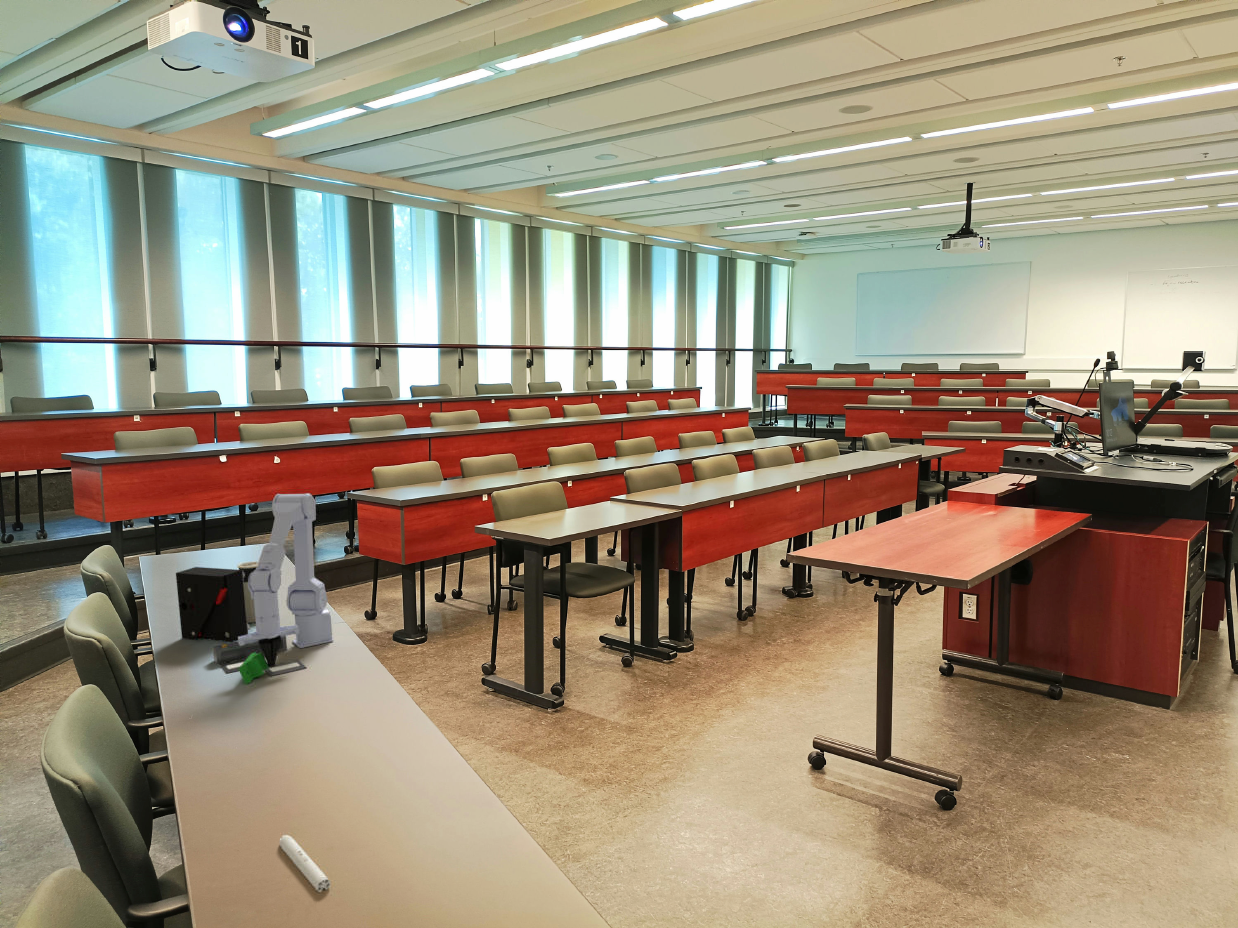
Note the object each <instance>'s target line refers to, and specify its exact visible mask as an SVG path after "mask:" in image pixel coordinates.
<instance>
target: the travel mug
mask: <svg viewBox="0 0 1238 928" xmlns="http://www.w3.org/2000/svg"><path fill="white" fill-rule="evenodd" d="M258 562H259V561H248V562H247V561H246V562H242V563H239V564H238V565H237V567H236V568H238V570H243V572H244V574H245V576H244V582H243V587H244V599H245V611H246V622H247V623H248V624H253V623H254V624H256V618H255V607H254V599H252V598H251V592H250V591H249V589H248V579H249V575H250V574H251V573H252V572H254V571H255V570H256V568H257V565H258Z"/></svg>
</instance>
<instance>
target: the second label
mask: <svg viewBox="0 0 1238 928" xmlns="http://www.w3.org/2000/svg"><path fill="white" fill-rule="evenodd" d="M304 669H305V670H306V669H307V666H306V665H305V664H304V663H303V662H301V661H300V660H299V659H293V660H289V661H285V662H281V663H277V664H276V663H275V666H274V667H269V668H268V669H265V670H264V671H265V672H266V673H267V674H268V676H270V677H275V676H279V675H283V674H287V673H293V672H296V671H300V670H304Z"/></svg>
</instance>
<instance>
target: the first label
mask: <svg viewBox="0 0 1238 928" xmlns="http://www.w3.org/2000/svg"><path fill="white" fill-rule="evenodd" d="M245 660H246V659H243V660H238V661H233V662H229V663H224V664H219V666H220V667H221V668H222V669H224V670H223V671H224V673H225V674H232V673H235V672H240V671H239V669H238V668H239V667H240V666H241V665H242V664H243V663H244V662H245Z"/></svg>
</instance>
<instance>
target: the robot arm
mask: <svg viewBox="0 0 1238 928" xmlns="http://www.w3.org/2000/svg"><path fill="white" fill-rule="evenodd" d="M271 506H272V507H271V510H272V514H273V517H274V520H273V526H272V529H271V534H270V538H269V542H268V543H267V544H265V545H264V546H263V547H262V550H261V554H260V556H259V559H258V561H257V562H258V565H257V568H256V570H255V571H254V572H252V573H251V574H250V575H249V579H248V589H249V591H250V592H251V598H252V599H254V607H255V618H256V623H255V628H256V631H253V632H251V633H248V634H247V635H244V636H240V637H238V640H237V641H238V643H239V645H240V646H242V645H245V644H248V643H253V642H258V644H259V646H260V647H261V649H262V651H263V653H264V658H265V660H266V662H267V664H268V666H269V667H274V666H275V664H276V660H277V655H278V653H279V652H278V650H279V648H280V645H281V643H282V639H281V637H282V636H286V637H287V636H292V635H295V637H296V638H294V639H292V641H291V642H292V643H293V644H294V645H296V646H297V647H298V648H299V649H303V648H308V647H312V646H317V645H321V644H326V643H327V644H328V643H330V642H333V641H334V638H333V629H332V628H333V626H332V618H331V614H330V611H329V609H327V604H328V595H327V594H328V593H327V592H326V587H325V583H324V582H322V581H320V580H319V579H318V578H316V577H315V565H314V564H315V561H314V542H313V541H314V539H313V522H314V521H316V519H317V518H316V516H317V513H316V512H317V511H316V500H315V498H314V497H313V495H312V494H311V493H286V494H283V493H282V494H281V493H277V494H276V495H275V496H274V498H273V500H272V504H271ZM291 529H292V530H293V531H292V532H293V550H294V551H293V553H294V570H295V571H294V573H295V580H294V581H293V582H291V584H289V585H288V587H287V595H286V601H285V602H286V607H287V608H288V609H287V610H289V612H291V614H292V615H294V624H295V625H290V626H281V622H280V607H279V596H278V595H279V594H278V591H279V589H280V588H281V585H282V565H283V562H284V559H285V556H286V552H287V551H286V549H285V548H284V545H285V543H286V541H287V538H288V536H289V534H290V531H291Z"/></svg>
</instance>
